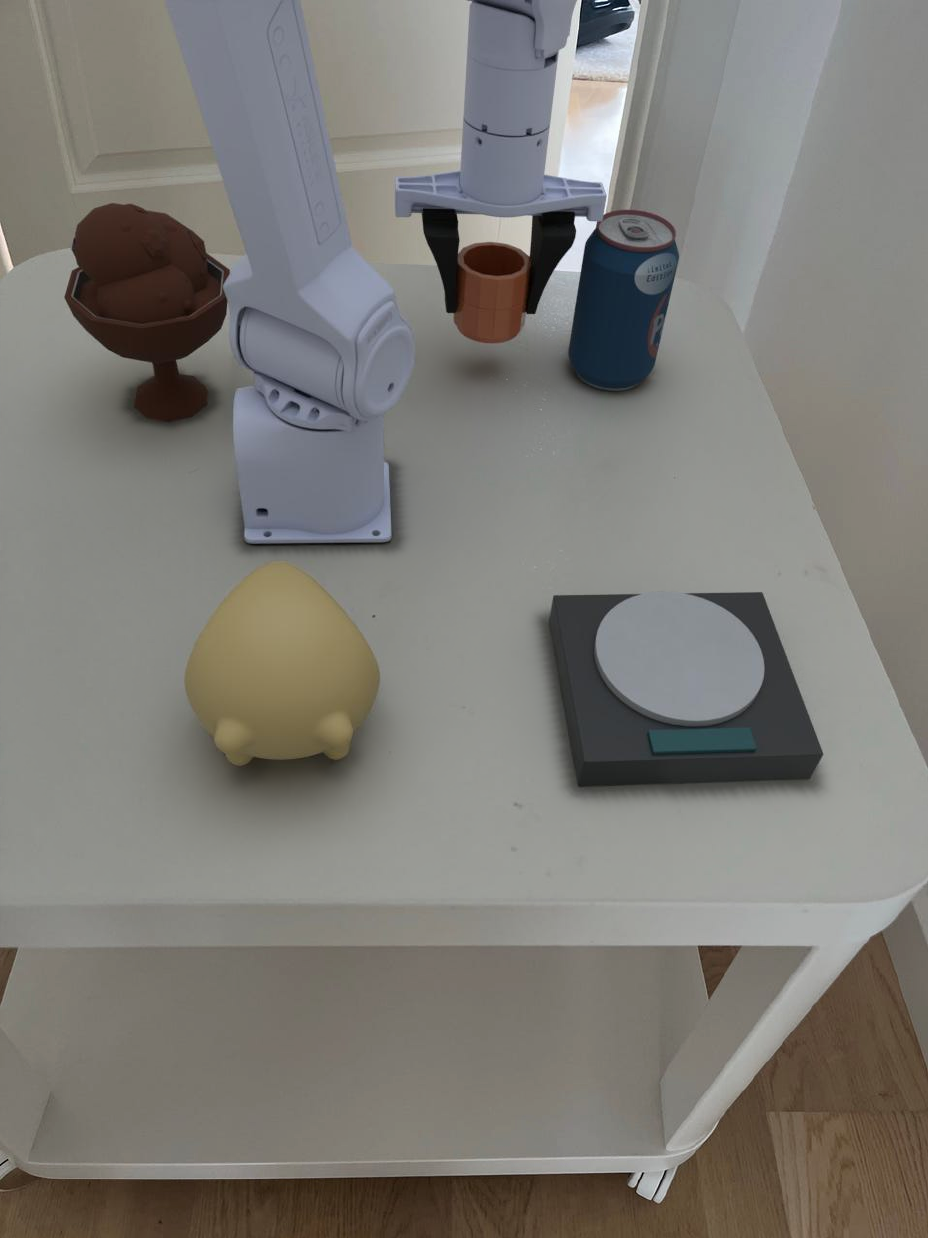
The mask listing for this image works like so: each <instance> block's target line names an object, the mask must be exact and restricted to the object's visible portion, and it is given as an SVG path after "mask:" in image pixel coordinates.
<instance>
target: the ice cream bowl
mask: <svg viewBox="0 0 928 1238" xmlns="http://www.w3.org/2000/svg"><path fill="white" fill-rule="evenodd" d="M74 232H75V233H74V238H73V239H72V243H71V251H72V253H73V255H74V258H75V261H76V265H77V267H75V268H74V269H72V270H71V272H70V275H69V280H68V282H67V286H66V290H65V293H64V300H65V302H66V304H67V306H68V308H69V310H70V312H71V314H72V316H73V317H74V319H75V320H76V321H77V322H78V323H79V324H80V326H82V328H83V329H84V331H86V332H87V333H88V334H89V335H90V336H91V337H93V338H94V339H95V340H96V341H97V342H98V343H100V345H102V346H103V347H104V348H105V349H106V350H108V351H109V352H111V353H113V354H115V355H118V356H119V357H121V358H124V359H129V360H134V361H139V362H145V363H151V364H152V369H153V374H154V375H153V376H150V377H149V378H148V379H146V380H145V381H144V382H142V383H140V384H139V385H138V386H136V391H135V396H134V403H133V408H135V409H136V410H137V411H138V412H139V413H140V414H141V415H142V416H143V417H144V418H146V419H149V420H150V419H151V420H156V421H163V422H174V421H178V420H182V419H188V418H192V417H194V416H195V415H196V414H198V413H199V412H200V411H201V410H203V409H204V408H205V407H207V406H208V400H209V390H208V387H207V386H206V385H205V384H204V383H203V382H202V381H200V380H199V378H197V377H196V376H194V375H191V374H185V373H180V371H179V366H178V362H177V361H179V360H182V359H185V358H187V357H189V356H190V355H191V354H192V353H194V352H196V351H197V350H198V349H200V348H201V347H203V346H204V345H206V344H207V343H208V342H209V341H210V340H211V339H213V337H214V336H216V335H217V334H218V333H219V332H220V331H221V329H222V328H223V326H224V325H223V324H224V322H225V319H226V317H227V313H228V301H227V298H226V295H225V292H224V289H223V285H224V283H225V281H226V279H227V278H228V276H229V274H230V272H231V269H230V268H228V267H227V266H226V265H224V264H223V263H221V262H220V261H218V260H217V259H216V258H214V257H213V256H212V255H210V254H209V253H207V251H206V245H205V241H204V240H203V239H202V237H200V236H199V235H198V234H197V233H195V231H194V230H192V229H191V228H189V227H187V226H186V225H184V224H183V223H181V222H180V221H179V220H177V219H176V218H174V217H173V216H170V215H169V214H168V213H165V212H159V211H153V210H147V209H145V208H143V207H141V206H138V205H137V204H134V203H125V204H122V203H115V202H110V203H108V204H104V205H99V206H97V207H94V208H92V209H91V210H90V211H89V212H88V213H87V215H86V216H84V218H82V219H81V221H80V222H78V224H77V225H76V227H75V231H74Z"/></svg>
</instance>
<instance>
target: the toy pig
mask: <svg viewBox="0 0 928 1238" xmlns="http://www.w3.org/2000/svg"><path fill="white" fill-rule="evenodd" d="M183 681H184V690H185V693H186V697H187V700H188V702H189V705H190V707H191V709H192V710H193V713H194V715H195V716H196V718H197V720H198V721H199V722H200V724H201V725H202V726H203V728H204V729H205V730H206V731H207V732H208V733H209V734H210V735H211V736H212V737H213V740H214V745H215V747H216V748H217V749H218V750H219V751H221V752H222V753H225V756H226V759H227V760H228V761H229V763H231V764H232V765H235V766H238V767H239V766H241V767H242V766H245V765H247V764H248V763H250V761H252V759H253V758H259V759H265V760H296V759H303V758H307V757H311V756H316V755H318V754H321V753H323V754H324V755H325V756H326V757H327V758H328V759H330V760H334V761H336V760H337V761H338V760H341V759H344V758H345V757H346V756H347V755H348V754H349V752H350V749H351V740H352V738H353V736H354V732H356V731H357V730H358V728H359V727H360V726H361V725H362V724H363V723H364V721H365V719H366V718H367V716H368V715H369V714H370V711H371V710H372V707H373V705H374V703H375V701H376V699H377V696H378V692H379V688H380V683H381V671H380V666H379V663H378V661H377V659H376V656H375V654H374V651H373V650H372V647H370V644H369V643H368V641H367V640H366V638H365V636H364V634H363V633H362V632H361V630H360V629H359V627H358V625H356V623H355V622H354V621H353V620H352V618H351V617H350V616H349V614H348V613H347V612H346V611H345V610H344V608H343V607H342V606H341V605H340V604H339V603H338V602H337V600H336V599H335V598H334V597H333V595H331V594H330V593H329V592H328V591H327V590H326V588H324V586H323V585H321V583H319V582H318V581H317V580H316V579H315V578H314V577H312V576H311V575H310V574H309V573H307V572H306V571H305V570H303V569H302V568H300V567H298V566H296V565H295V564H293V563H290V562H288V561H284V560H275V561H270V562H267V563H265V564H263V565H261V566H259V567H257V568H256V569H254V570H253V571H251V572H250V573H248V574H247V575H246V576H245V577H244V578H242V579H241V580H240V582H238V583H237V584H236V585H235V586H234V587H233V589H232V590H230V592H228V594H227V595H226V597H225V598H224V599H223V600H222V601H221V602H220V604H219V605H218V606H217V608H215V610H214V611H213V612H212V615H211V616H210V617H209V619H208V620H207V622H206V624H204V627H203V628H202V629H201V632H200V633H199V635H198V636H197V639H196V641H195V642H194V644H193V647H192V649H191V651H190V654H189V657H188V660H187V663H186V666H185V671H184V679H183Z"/></svg>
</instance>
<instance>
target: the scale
mask: <svg viewBox="0 0 928 1238" xmlns="http://www.w3.org/2000/svg"><path fill="white" fill-rule="evenodd" d="M549 612H550V613H549V618H548V625H549V631H550V637H551V643H552V647H553V653H554V659H555V664H556V671H557V676H558V682H559V687H560V693H561V698H562V705H563V710H564V715H565V716H564V717H565V721H566V728H567V732H568V738H569V744H570V749H571V755H572V761H573V766H574V774H575V778H576V785H577V787H602V786H603V787H604V786H629V785H630V786H631V785H633V786H634V785H636V786H637V785H661V784H662V785H664V784H691V783H692V784H693V783H694V784H695V783H722V782H723V783H725V782H726V783H727V782H753V781H754V782H757V781H784V780H786V781H787V780H809V779H811V778H812V776H813V774H814V773H815V771H816V769H817V767H818V765H819V764H820V762H821V760H822V758H823V756H824V752H823V749H822V747H821V744H820V741H819V738H818V736H817V732H816V731H815V728H814V725H813V722H812V720H811V718H810V715H809V711H808V709H807V707H806V704H805V701H804V699H803V696H802V694H801V691H800V689H799V685H798V682H797V680H796V678H795V674H794V672H793V669H792V667H791V664H790V662H789V659H788V656H787V653H786V651H785V648H784V646H783V643H782V640H781V638H780V636H779V633H778V630H777V627H776V625H775V621H774V620H773V618H772V613H771V612H770V609H769V606H768V604H767V600H766V598H765V596H764V592H762V591H749V592H747V591H745V592H744V591H743V592H741V591H740V592H737V591H736V592H678V591H651V592H645V593H620V594H619V593H618V594H615V593H614V594H554V595H553V596H552V601H551V607H550V611H549Z"/></svg>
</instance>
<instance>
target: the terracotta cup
mask: <svg viewBox="0 0 928 1238" xmlns="http://www.w3.org/2000/svg"><path fill="white" fill-rule="evenodd" d="M531 266H532V265H531V261H530V255H528V254H527V253H526V252H525V251H523V249H521V248H518V247H516V246H514V245H512V244H508V243H503V242H495V241H483V242H475V243H472V244H469V245H466V246H463V247H462V248H461V250H460V251H458V259H457V270H456V295H457V306H456V313H452V316H453V323H454V325H455V326H456V329H457V330H458V332H459V333H460V334H461V335H462V336H463V337H465V338H467V339H469V340H472V341H474V342H477V343H481V344H493V345H494V344H502V343H506V342H509V341H511V340H513V339H515V338H516V337H518V335H519V334H520V332H521V331H522V329H523V328H524V327H525V324H526V316H527V314H526V308H527V300H528V292H529V283H530V275H531Z"/></svg>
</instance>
